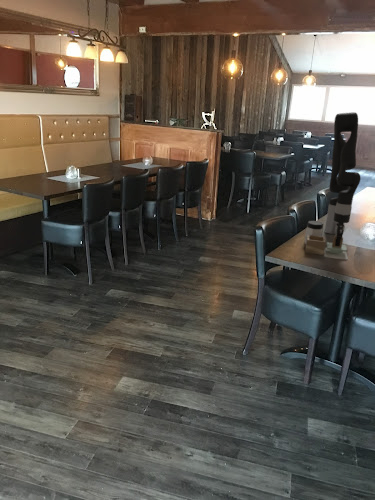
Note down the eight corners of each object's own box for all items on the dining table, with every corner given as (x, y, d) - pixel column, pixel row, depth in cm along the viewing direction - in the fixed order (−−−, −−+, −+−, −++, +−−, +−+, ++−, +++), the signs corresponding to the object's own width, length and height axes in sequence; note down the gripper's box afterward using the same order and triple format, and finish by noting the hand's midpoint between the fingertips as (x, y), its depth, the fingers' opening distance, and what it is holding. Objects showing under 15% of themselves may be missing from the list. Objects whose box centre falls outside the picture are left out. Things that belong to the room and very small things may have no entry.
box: (305, 247, 220) (307, 234, 218) (323, 249, 218) (325, 237, 216) (305, 252, 212) (307, 239, 210) (323, 255, 210) (325, 242, 207)
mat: (323, 248, 220) (323, 247, 220) (345, 250, 218) (345, 250, 218) (324, 257, 207) (324, 256, 207) (347, 260, 204) (347, 259, 204)
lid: (326, 246, 217) (328, 233, 215) (344, 248, 215) (347, 235, 212) (326, 252, 209) (329, 238, 206) (346, 254, 206) (348, 240, 204)
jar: (318, 241, 230) (321, 221, 226) (322, 246, 223) (326, 225, 219) (302, 240, 230) (305, 220, 226) (306, 245, 223) (309, 224, 219)
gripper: (334, 208, 212) (328, 239, 218) (335, 214, 199) (329, 248, 205) (349, 209, 210) (343, 241, 216) (352, 216, 198) (345, 250, 204)
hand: (336, 244), depth 211 cm, fingers closed on lid, 3 cm apart
